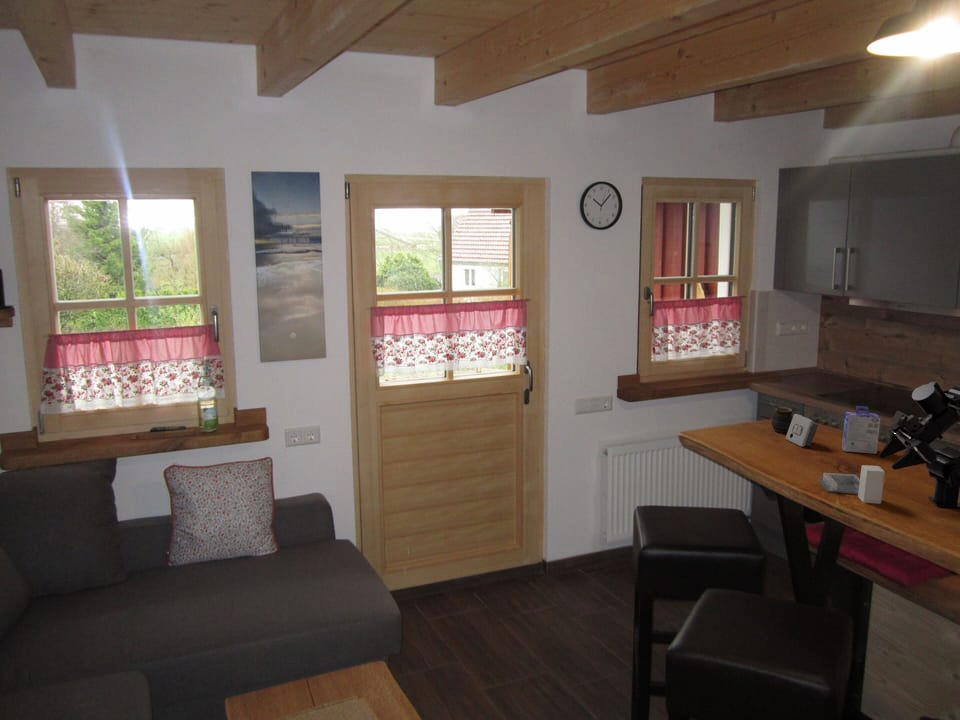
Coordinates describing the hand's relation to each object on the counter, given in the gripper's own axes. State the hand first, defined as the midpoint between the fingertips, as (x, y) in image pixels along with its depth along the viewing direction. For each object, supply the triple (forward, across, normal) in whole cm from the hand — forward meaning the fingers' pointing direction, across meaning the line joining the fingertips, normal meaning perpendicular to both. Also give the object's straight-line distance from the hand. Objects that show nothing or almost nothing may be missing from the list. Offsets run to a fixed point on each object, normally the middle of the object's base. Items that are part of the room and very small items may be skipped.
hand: (886, 462), depth 209 cm
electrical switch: (+13, -51, +2) cm, 53 cm away
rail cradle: (+12, -9, +3) cm, 16 cm away
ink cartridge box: (+1, -46, +14) cm, 48 cm away
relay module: (+10, 0, +6) cm, 11 cm away
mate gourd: (+15, -64, 0) cm, 66 cm away
